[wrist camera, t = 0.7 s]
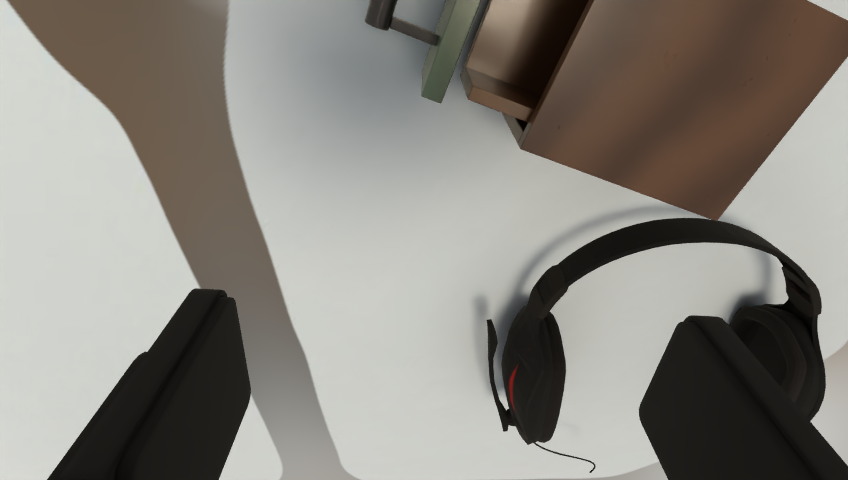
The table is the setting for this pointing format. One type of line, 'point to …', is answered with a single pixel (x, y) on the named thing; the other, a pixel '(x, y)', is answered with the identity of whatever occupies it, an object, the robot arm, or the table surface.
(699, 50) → the cabinet
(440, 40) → the drawer
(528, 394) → the headset
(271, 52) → the table surface
